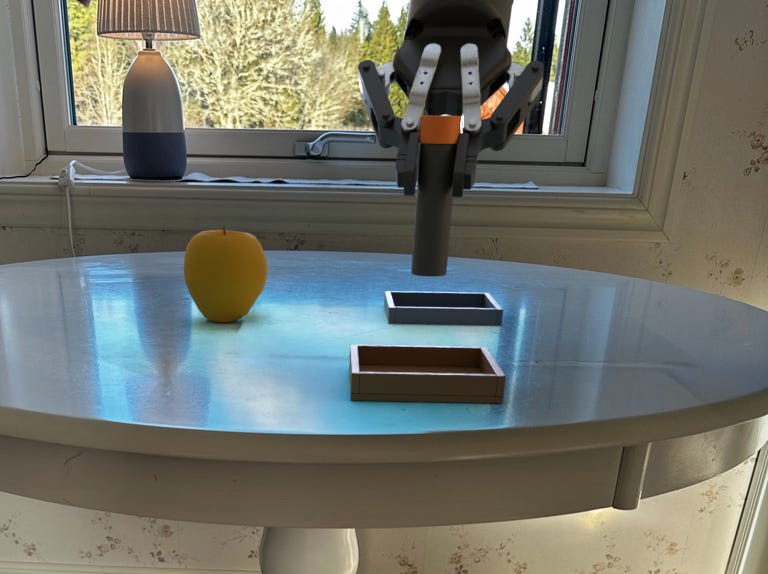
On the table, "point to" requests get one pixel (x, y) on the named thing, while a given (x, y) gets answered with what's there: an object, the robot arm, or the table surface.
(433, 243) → the marker
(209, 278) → the apple
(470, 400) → the walnut tray
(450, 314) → the grey tray
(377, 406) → the table surface
